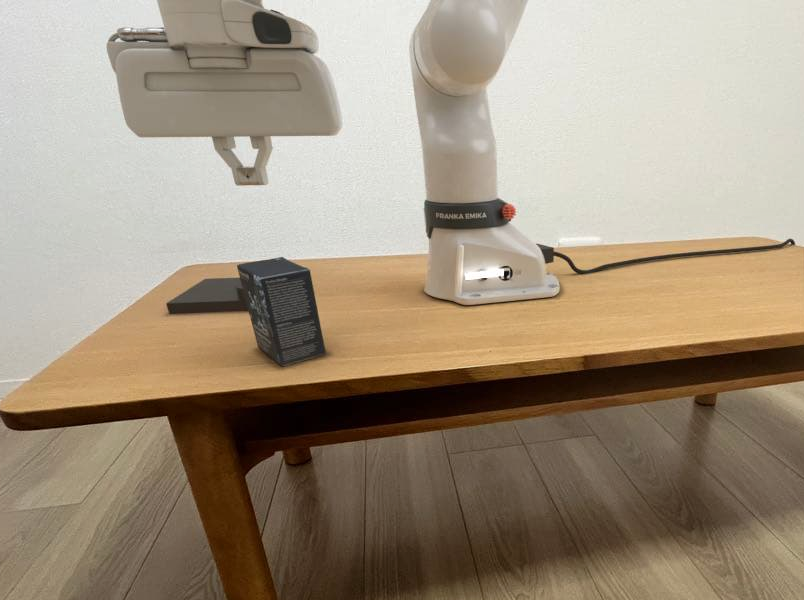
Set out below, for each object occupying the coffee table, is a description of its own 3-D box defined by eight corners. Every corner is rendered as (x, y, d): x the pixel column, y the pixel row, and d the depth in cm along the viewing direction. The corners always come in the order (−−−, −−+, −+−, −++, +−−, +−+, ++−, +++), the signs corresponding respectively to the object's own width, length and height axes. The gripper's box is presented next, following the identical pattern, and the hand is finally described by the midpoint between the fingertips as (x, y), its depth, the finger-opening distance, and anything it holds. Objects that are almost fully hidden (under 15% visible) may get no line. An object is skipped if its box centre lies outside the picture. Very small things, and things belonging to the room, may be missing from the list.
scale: (304, 284, 93) (300, 264, 92) (280, 310, 80) (275, 287, 79) (207, 288, 92) (201, 267, 90) (168, 315, 79) (160, 292, 77)
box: (257, 349, 67) (235, 263, 62) (301, 338, 70) (284, 256, 65) (280, 368, 62) (258, 276, 57) (327, 355, 65) (311, 267, 60)
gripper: (79, 21, 47) (133, 190, 54) (318, 24, 49) (343, 186, 56) (119, 32, 53) (164, 183, 59) (333, 33, 55) (353, 180, 61)
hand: (252, 185), depth 57 cm, fingers closed
